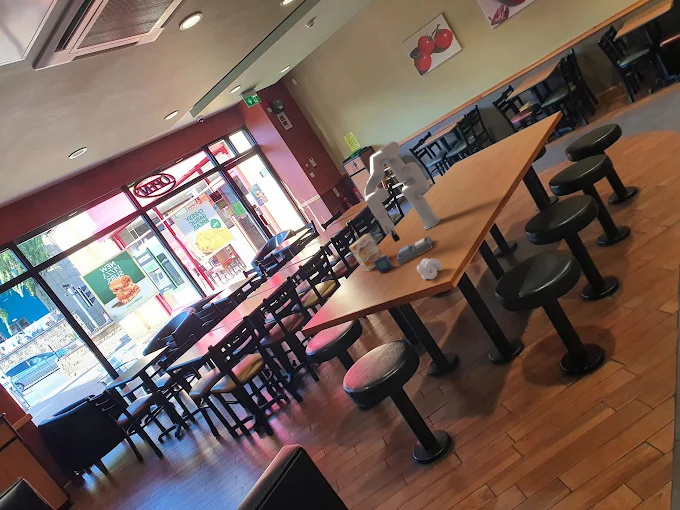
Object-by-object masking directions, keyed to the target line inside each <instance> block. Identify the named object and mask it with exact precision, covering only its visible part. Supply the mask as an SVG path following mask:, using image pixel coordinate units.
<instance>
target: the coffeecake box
mask: <svg viewBox="0 0 680 510" xmlns="http://www.w3.org/2000/svg"><path fill="white" fill-rule="evenodd" d="M348 248H349V250H350V252H351V253H352V254H353V256H354V258H355V259H356V261H357V262H358V264H359V265H360V267H361V268H362V270H363V272H370V271H372V270H373V269H374V268H375V267H376V266H375V264H374V263H373V261H374V260H375V259H377V256H378V255H379V257H381V256H383V255H384V253H383V252H382V250H381V249H380V247H379V246H378V244H377V242H376V241H375V240H374V238H373V237H372V235H371V234H370V233H365V234H363V235H362V236H361V237H360V238H358V239H357V240H356V241H354V243H352V244H350V245H349V246H348Z"/></svg>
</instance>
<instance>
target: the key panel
mask: <svg viewBox="0 0 680 510" xmlns="http://www.w3.org/2000/svg"><path fill="white" fill-rule="evenodd" d="M423 238H424V239H425V240H426V242H427V243H425V244H423V245H422V246H420V247H418V248H415V243H413V244H412V245H409V246H410V248H411V252H409V253H407V254H405V255H403V256H402V257H401V255H400V254H399V251H398V253H397V257H396V261H397V264H399V265H400V266H402V265H404V264H405V263H407V262H409V261H411V260H412V258H413V257H415V256H417V255H418V254H420V253H422V252H424V251H426V250H427V249H429V248H431V246H432V247H433V240H432V239H431V237H430V235H427V236H426V237H423ZM431 249H432V248H431ZM429 250H430V249H429ZM426 252H427V251H426ZM424 253H425V252H424ZM422 254H423V253H422ZM420 255H421V254H420ZM418 256H419V255H418ZM418 256H417V257H418ZM415 258H416V257H415ZM410 259H411V260H410ZM413 259H414V258H413ZM408 260H409V261H408ZM406 261H407V262H406ZM403 263H404V264H403ZM401 264H402V265H401Z"/></svg>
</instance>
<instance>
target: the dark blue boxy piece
mask: <svg viewBox="0 0 680 510" xmlns="http://www.w3.org/2000/svg"><path fill="white" fill-rule="evenodd" d="M373 263H374V264H375V267H376V269H377V270H378V272H379V273H380V274H381V275H382V274H384V273H387V272H388V271H390V270H391V269H392V268H393V269H394V265H393V263H392V262H391V260H390V259H389V256H387V254H383V256H381V257H379V255H378V256H377V259H375V260H374V261H373Z"/></svg>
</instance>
